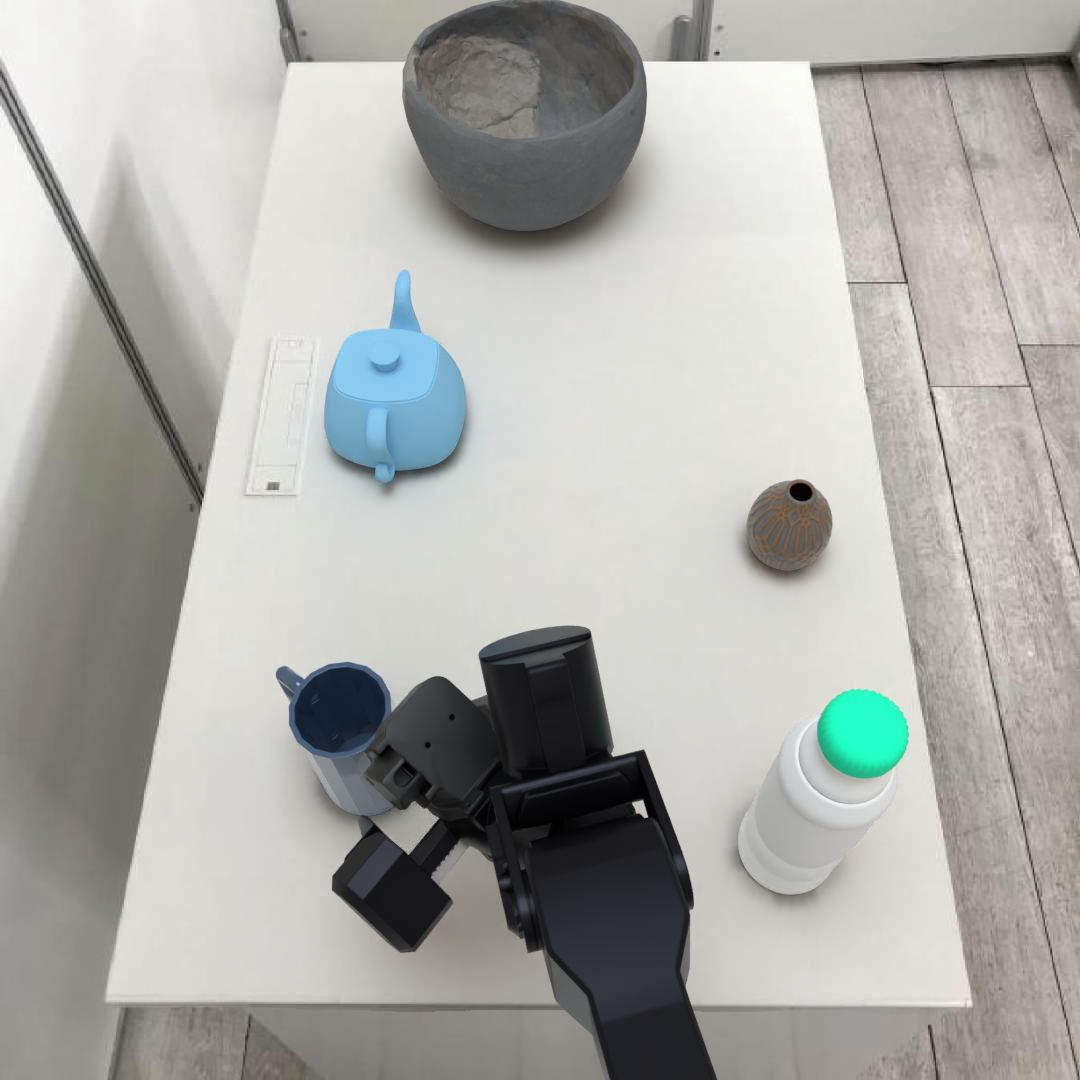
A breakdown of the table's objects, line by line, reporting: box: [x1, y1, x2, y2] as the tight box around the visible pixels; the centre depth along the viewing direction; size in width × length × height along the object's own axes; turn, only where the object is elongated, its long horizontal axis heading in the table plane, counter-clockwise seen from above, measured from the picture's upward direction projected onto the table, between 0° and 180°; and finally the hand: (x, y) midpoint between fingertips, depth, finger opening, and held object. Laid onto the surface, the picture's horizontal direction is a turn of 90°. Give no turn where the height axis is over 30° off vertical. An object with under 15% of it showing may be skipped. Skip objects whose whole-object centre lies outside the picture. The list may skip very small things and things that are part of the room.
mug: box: [275, 661, 396, 817], centre depth 77 cm, size 10×7×13 cm
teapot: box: [323, 269, 467, 484], centre depth 95 cm, size 13×11×18 cm
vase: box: [746, 478, 834, 571], centre depth 88 cm, size 7×7×9 cm
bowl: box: [401, 0, 648, 232], centre depth 109 cm, size 24×24×15 cm
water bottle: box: [737, 688, 910, 896], centre depth 68 cm, size 7×7×25 cm
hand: (411, 766), depth 70 cm, fingers open, 9 cm apart
